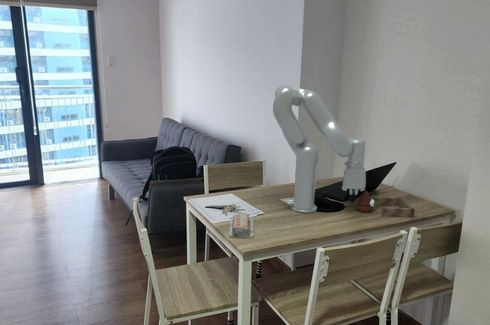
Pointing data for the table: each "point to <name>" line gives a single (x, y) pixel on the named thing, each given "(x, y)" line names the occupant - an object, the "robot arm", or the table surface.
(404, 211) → the walnut bay
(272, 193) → the table surface
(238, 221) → the packaged product
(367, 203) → the poop emoji
